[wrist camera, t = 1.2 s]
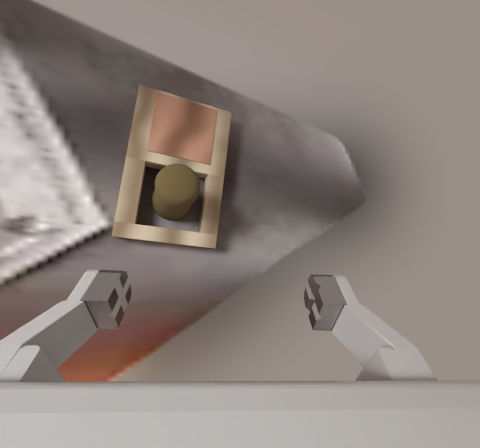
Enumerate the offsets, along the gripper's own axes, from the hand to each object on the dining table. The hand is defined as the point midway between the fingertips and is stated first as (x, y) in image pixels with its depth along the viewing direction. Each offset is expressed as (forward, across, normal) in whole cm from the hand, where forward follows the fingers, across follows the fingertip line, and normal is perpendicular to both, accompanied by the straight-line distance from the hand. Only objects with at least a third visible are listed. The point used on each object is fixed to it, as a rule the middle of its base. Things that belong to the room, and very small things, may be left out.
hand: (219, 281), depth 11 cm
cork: (+26, +8, +11) cm, 29 cm away
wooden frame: (+28, +8, +7) cm, 30 cm away
